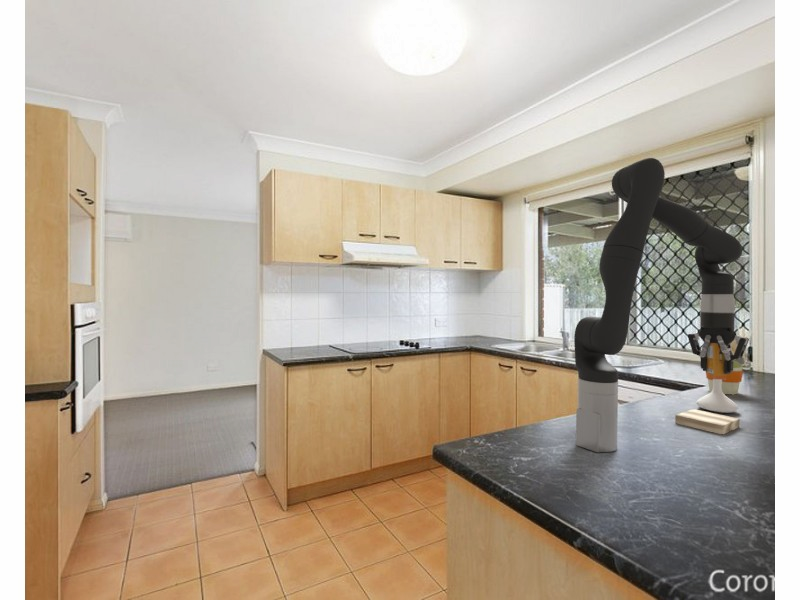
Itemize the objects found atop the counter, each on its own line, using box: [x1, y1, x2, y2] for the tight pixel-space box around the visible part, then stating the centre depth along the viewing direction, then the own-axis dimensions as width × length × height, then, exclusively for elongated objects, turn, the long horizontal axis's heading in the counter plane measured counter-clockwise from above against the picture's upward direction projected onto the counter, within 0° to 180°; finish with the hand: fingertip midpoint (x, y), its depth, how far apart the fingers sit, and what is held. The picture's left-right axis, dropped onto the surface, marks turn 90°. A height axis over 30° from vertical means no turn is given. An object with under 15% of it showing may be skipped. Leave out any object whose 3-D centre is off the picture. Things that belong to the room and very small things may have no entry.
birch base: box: [674, 408, 741, 435], centre depth 123 cm, size 12×12×2 cm
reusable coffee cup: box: [705, 356, 745, 396], centre depth 165 cm, size 13×13×15 cm
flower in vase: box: [695, 339, 747, 414], centre depth 138 cm, size 13×11×25 cm
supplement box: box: [707, 343, 727, 380], centre depth 114 cm, size 3×3×10 cm
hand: (716, 371), depth 114 cm, fingers closed on supplement box, 4 cm apart
